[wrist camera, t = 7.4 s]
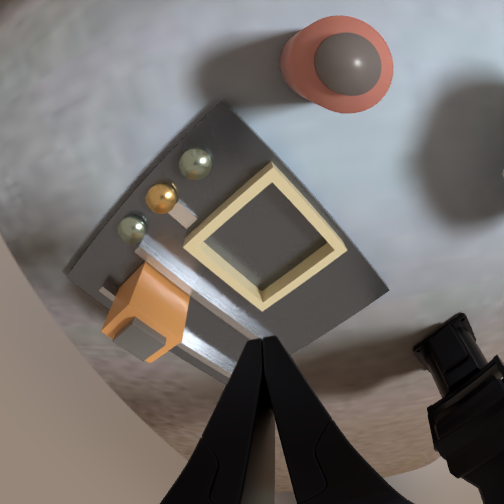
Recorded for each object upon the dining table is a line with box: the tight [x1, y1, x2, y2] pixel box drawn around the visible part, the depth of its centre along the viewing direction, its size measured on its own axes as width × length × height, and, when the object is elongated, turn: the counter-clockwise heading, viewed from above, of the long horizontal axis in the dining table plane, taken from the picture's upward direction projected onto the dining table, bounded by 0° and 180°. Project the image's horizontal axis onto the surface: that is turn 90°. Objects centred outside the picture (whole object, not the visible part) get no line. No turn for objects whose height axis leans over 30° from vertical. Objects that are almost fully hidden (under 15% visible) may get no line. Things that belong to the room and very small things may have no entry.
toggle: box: [101, 261, 190, 363], centre depth 20 cm, size 4×4×5 cm
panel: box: [67, 100, 389, 385], centre depth 23 cm, size 18×17×2 cm
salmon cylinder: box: [280, 16, 393, 113], centre depth 13 cm, size 4×4×6 cm
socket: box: [183, 161, 347, 311], centre depth 20 cm, size 7×7×1 cm
